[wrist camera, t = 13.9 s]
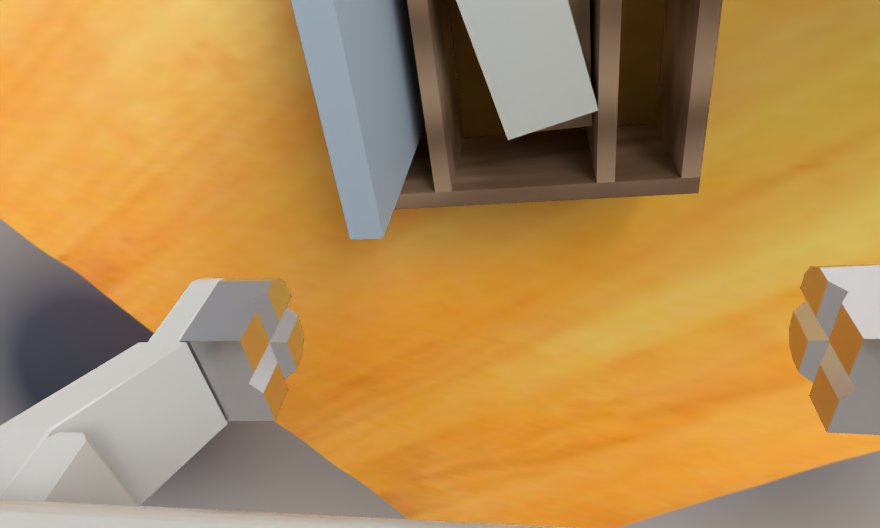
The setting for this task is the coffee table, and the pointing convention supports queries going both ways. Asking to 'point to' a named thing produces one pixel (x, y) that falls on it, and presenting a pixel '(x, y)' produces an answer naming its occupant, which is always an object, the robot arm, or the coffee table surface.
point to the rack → (568, 151)
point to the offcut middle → (582, 23)
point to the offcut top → (530, 61)
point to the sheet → (364, 101)
